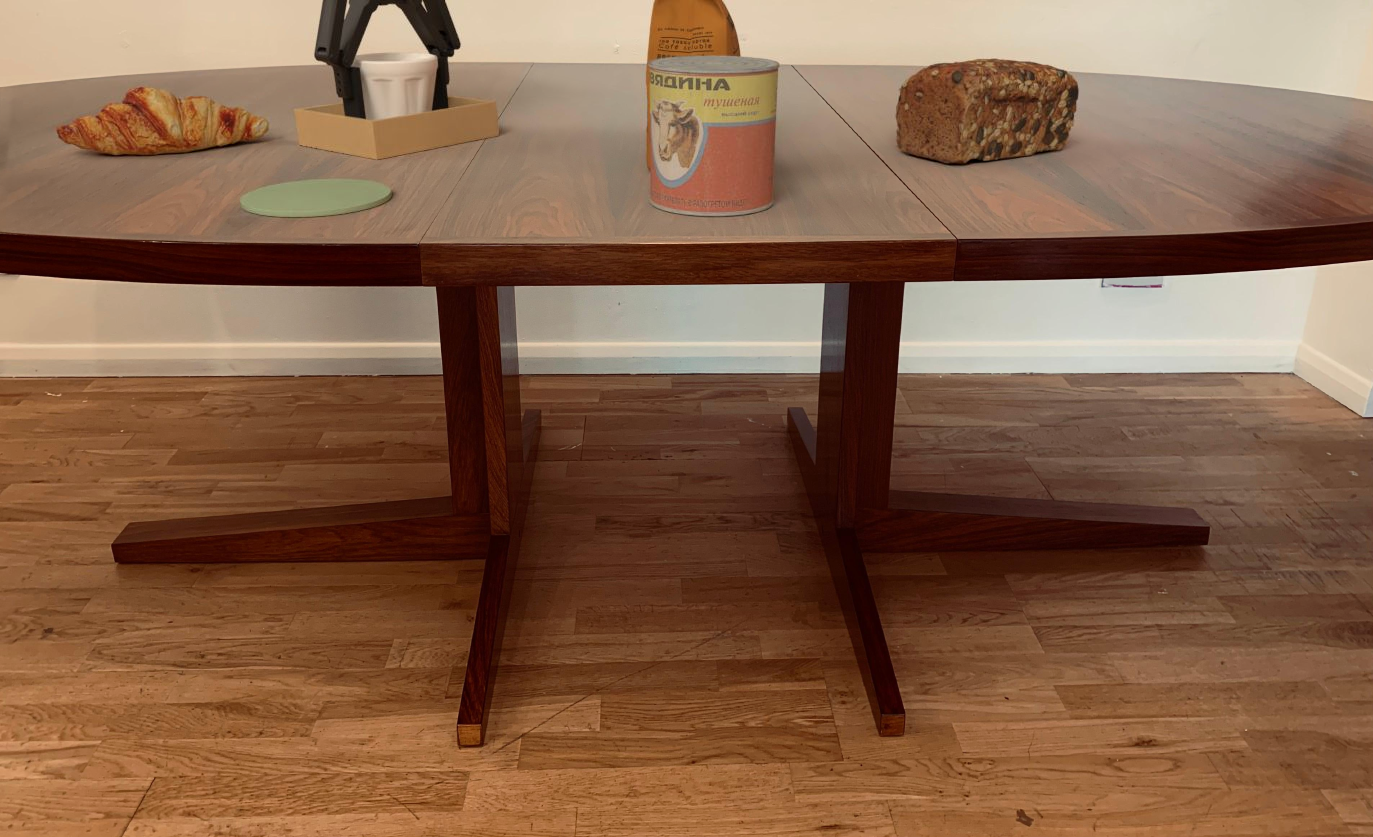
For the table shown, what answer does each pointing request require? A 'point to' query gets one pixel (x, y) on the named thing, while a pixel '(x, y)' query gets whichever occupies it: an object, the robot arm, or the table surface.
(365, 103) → the cup
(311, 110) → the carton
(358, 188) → the mat
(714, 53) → the coffee package
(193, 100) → the croissant
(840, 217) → the table surface
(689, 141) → the canned food
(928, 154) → the bread
